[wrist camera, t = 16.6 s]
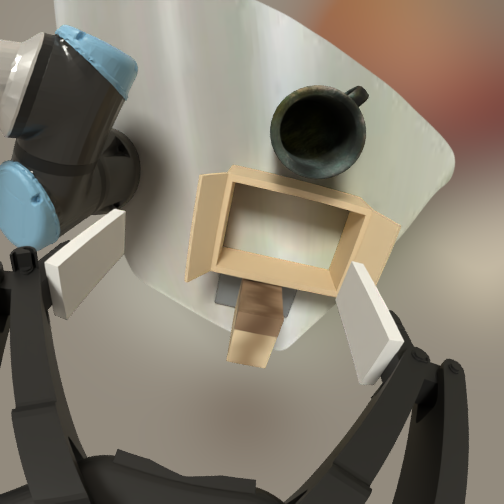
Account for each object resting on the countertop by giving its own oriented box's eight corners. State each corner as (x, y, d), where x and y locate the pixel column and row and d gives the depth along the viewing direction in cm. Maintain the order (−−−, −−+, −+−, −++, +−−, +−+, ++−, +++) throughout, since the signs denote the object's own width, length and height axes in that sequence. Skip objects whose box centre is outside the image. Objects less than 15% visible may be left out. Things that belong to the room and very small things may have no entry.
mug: (254, 126, 41) (249, 129, 30) (324, 67, 36) (344, 51, 25) (302, 178, 44) (313, 198, 33) (370, 121, 39) (403, 123, 28)
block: (235, 307, 54) (226, 361, 42) (246, 261, 50) (238, 311, 38) (266, 313, 55) (265, 368, 42) (280, 268, 50) (283, 320, 38)
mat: (215, 300, 55) (214, 302, 54) (224, 254, 50) (223, 256, 50) (286, 315, 56) (286, 317, 55) (302, 271, 51) (302, 273, 51)
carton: (200, 247, 50) (183, 281, 40) (215, 161, 44) (199, 175, 33) (345, 278, 51) (361, 317, 41) (374, 201, 45) (402, 226, 34)
